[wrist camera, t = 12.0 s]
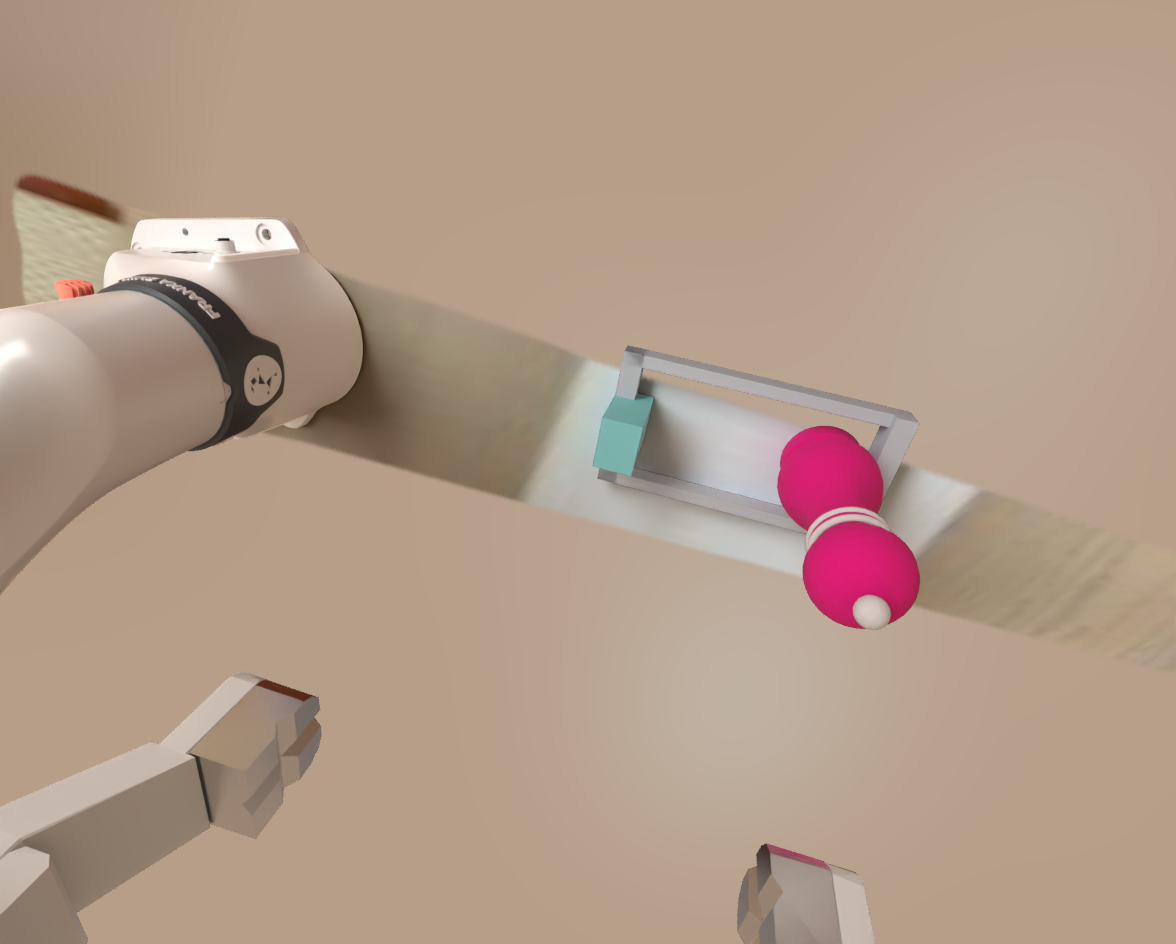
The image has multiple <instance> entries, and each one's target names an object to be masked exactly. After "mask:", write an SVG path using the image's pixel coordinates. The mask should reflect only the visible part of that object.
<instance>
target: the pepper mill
mask: <svg viewBox="0 0 1176 944" xmlns="http://www.w3.org/2000/svg"><path fill="white" fill-rule="evenodd" d="M780 468H781V470H780V472H779V476H778V486H777V488H778V493H779V497H780V500H781V503H782V505H783V507H784V509H785V511H786V512H787V514H788V515H789V516H790V517H791V518H792V519H793V520H794V521H795V522H796V523H797V524H798V525H799V526H800V527H802V528H803V529H805V530H806V531H808V532H807V535H806V539H805V547H806V552H807V553H806V556H805V559H804V563H803V581H804V584H805V588H806V590H807V593H808V595H809V597H810V599H811V600H812V602H813V603H814V604H815V606H816V607H817V608H818V609H819V610H820V611H821V612H822V613H823V614H824V615H826V616H827V617H829V618H830V619H832V620H833V621H835V622H837V623H840V624H842V625H844V626H848V627H852V628H860V629H871V630H877V629H881V628H883V627H885V626H886V625H887V624H890V623H892V622H894V621H896V620H897V619H899V618H900V617H902V616H903V615H904V614H905V613H906V612H907V611H908V610H909V609H910V608H911V607H912V605H913V603H914V602H915V600H916V598H917V594H918V591H919V585H920V574H919V570H918V566H917V562H916V560H915V557H914V555H913V553H912V551H911V550H910V549H909V547H908V546H907V545H906V543H905V542H903V541H902V540H901V539H900V538H899V537H897V536H896V535H895V534H894V533H892V532H891V529H890V527H889V526H888V524H887V523H886V521H885V520H884V519H883V518H882V517H880V516H879V515H878V514H877V513H878V511H879V509H880V506H881V503H882V499H883V492H884V487H883V479H882V475H881V471H880V468H879V466H878V464H877V462H876V460H875V459H874V457H873V456H872V455H871V454H870V453H869V452H868V451H867V450H866V449H864V448H863V447H862V446H860V445H859V443H858V442H857V440H856V439H855V438H854V437H853V436H852V435H851V434H849V433H848V432H846V431H844V430H842V429H839V428H836V427H832V426H817V427H812V428H809V429H806V430H804V431H802V432H800V433H798V434H797V435H796V436H794V437H793V438H792V439H791V440H790V441H789V442H788V443H787V445H786V446H785V448H784V450H783V452H782V455H781V461H780Z"/></svg>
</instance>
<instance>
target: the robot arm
mask: <svg viewBox="0 0 1176 944" xmlns="http://www.w3.org/2000/svg"><path fill="white" fill-rule="evenodd" d="M268 230H269V231H270V233H271V238H270V237H269V235H268ZM54 285H55V289H56V291H57V293H58V295H59V298H60V300H56V301H50V302H43V303H37V304H31V305H24V306H18V307H12V308H5V309H0V595H1V594H2V593H3V592H4V590H5V589H6V588H7V587H8V586H9V585H10V583H11V582H12V581H13V580H14V579H15V578H16V576H17V575H18V574H19V573H20V572H21V571H22V570H23V569H24V568H25V567H26V566H27V565H28V564H29V563H30V562H31V560H33V559H34V558H35V556H36V555H37V554H38V553H39V552H40V551H41V550H42V549H43V548H44V547H45V546H46V545H47V544H48V543H49V542H51V540H53V538H55V537H56V536H57V535H58V534H59V533H60V532H61V531H62V530H63V529H64V528H65V527H66V526H67V525H69V524H70V523H71V522H72V521H73V520H74V519H75V518H76V517H78V516H79V515H80V514H81V513H82V512H84V511H85V510H86V509H87V508H88V507H90V506H91V505H92V504H94V503H95V502H96V501H98V500H99V499H101V498H102V497H103V496H105V495H106V494H108V493H109V492H111V491H112V490H114V489H116V488H117V487H119V486H121V485H123V484H125V483H126V482H128V481H130V480H132V479H134V478H136V477H137V476H139V475H141V474H143V473H145V472H147V471H149V470H151V469H153V468H155V467H157V466H158V465H160V464H162V463H164V462H166V461H168V460H170V459H172V458H174V457H176V456H178V455H180V454H182V453H184V452H186V451H197V450H202V449H206V448H208V447H211V446H215V445H219V444H220V443H223V442H226V441H228V440H230V439H232V438H235V439H246V438H249V437H251V436H254V435H257V434H260V433H262V432H265V431H268V430H270V429H273V428H275V427H278V426H281V425H285V426H287V427H289V428H294V429H295V428H299V427H301V426H304V425H306V424H307V423H308V422H309V421H310V420H311V419H312V417H313V416H314V414H315V413H316V411H317V410H318V409H320V408H322V407H324V406H326V405H329V404H331V403H333V402H335V401H337V400H339V399H340V398H342V397H343V396H344V395H345V394H346V393H347V392H348V391H349V390H350V389H351V388H352V386H353V385H354V383H355V381H356V379H357V377H358V375H359V372H360V368H361V364H362V357H363V342H362V335H361V330H360V325H359V322H358V319H357V316H356V313H355V311H354V308H353V306H352V304H351V302H350V300H349V299H348V297H347V295H346V293H345V292H344V290H343V289H342V287H341V286H340V285H339V283H338V282H337V281H336V280H335V279H334V277H333V276H332V275H331V274H330V273H329V272H328V271H327V270H326V269H325V268H324V267H323V266H322V265H321V264H320V263H318V261H316V259H315V258H314V257H313V256H312V255H311V253H310V252H309V250H308V248H307V246H306V244H305V242H304V240H303V239H302V237H301V235H300V233H299V232H298V230H297V229H296V227H295V226H294V225H293V224H292V223H291V222H290V221H289V220H287V219H285V218H279V217H278V218H276V217H275V218H155V219H147V220H142V221H140V222H138V224H137V226H136V229H135V231H134V234H133V238H132V244H131V250H123V251H117V252H115V253H113V254H112V255H111V257H110V258H109V260H108V262H107V265H106V267H105V273H104V289H102V290H100V291H99V292H98V293H97V294H94V289H93V285H92V284H91V283H90V282H86V281H81V280H62V281H57V282H56V283H54ZM319 710H320V705H319V698H318V697H316V696H313V695H310V694H307V693H304V692H301V691H298V690H295V689H292V688H290V687H287V686H284V685H281V684H278V683H275V682H272V681H269V680H267V679H264V678H261V677H258V676H255V675H251V674H249V673H246V672H242V671H240V672H238V673H236V674H235V675H233V676H231V677H229V678H228V679H227V680H226V681H225V682H224V683H223V684H222V685H221V686H220V687H219V688H218V689H217V690H215V692H213V693H212V694H211V695H210V696H209V697H208V698H207V699H206V700H205V701H204V702H203V703H202V704H201V705H200V706H199V707H198V708H197V709H196V710H195V711H194V712H193V713H191V715H189V716H188V717H187V718H186V719H185V720H184V721H183V722H182V723H181V724H180V725H179V726H178V727H177V728H176V729H175V730H174V731H173V732H172V733H171V734H170V735H169V736H167V738H165V739H164V740H163V741H162V742H161V743H160V744H158V743H155V742H150V743H148V744H146V745H143V746H141V747H138V748H136V749H134V750H131V751H129V752H127V753H124V754H122V755H120V756H117V757H115V758H113V759H111V760H108V761H106V762H104V763H101V764H99V765H97V766H94V767H92V768H89V769H87V770H85V771H83V772H80V773H78V774H75V775H73V776H71V777H69V778H66V779H64V780H61V781H59V782H57V783H54V784H52V785H50V786H47V787H45V788H43V789H40V790H38V791H36V792H33V793H31V794H29V795H26V796H24V797H22V798H20V799H17V800H15V801H12V802H10V803H8V804H6V805H3V806H1V807H0V944H87V942H88V937H87V935H86V933H85V931H84V929H83V927H82V925H81V922H80V920H79V918H78V916H77V912H79V911H80V910H82V909H83V908H85V907H87V906H88V905H90V904H91V903H93V902H94V901H96V900H97V899H99V898H101V897H102V896H103V895H105V894H107V893H108V892H110V891H112V890H113V889H115V888H116V887H118V886H119V885H121V884H123V883H124V882H126V881H127V880H129V879H130V878H132V877H134V876H135V875H137V874H138V873H140V872H141V871H143V870H145V869H146V868H148V867H149V866H151V865H152V864H154V863H155V862H157V861H159V860H160V859H162V858H163V857H165V856H166V855H168V854H170V853H171V852H172V851H174V850H176V849H177V848H179V847H181V846H182V845H184V844H185V843H187V842H188V841H190V840H192V839H193V838H194V837H196V836H198V835H199V834H201V833H202V832H204V831H205V830H207V829H209V828H210V824H212V825H215V826H218V827H221V828H224V829H227V830H230V831H233V832H236V833H239V834H242V835H246V836H248V837H251V838H254V839H256V838H257V837H258V835H259V834H260V833H261V831H262V830H263V829H264V827H265V826H266V825H267V823H268V822H269V821H270V819H271V818H272V817H273V815H274V814H275V812H276V811H277V810H278V809H279V807H280V806H281V805H282V803H283V790H284V787H286V786H288V785H290V784H292V783H294V782H296V781H298V780H300V779H301V777H302V776H303V774H304V773H305V771H306V770H307V769H308V767H309V766H310V765H311V763H312V761H313V758H314V756H315V754H316V752H317V750H318V748H319V744H320V739H321V726H320V724H319V723H318V722H317V720H316V719H315V717H314V716H315V715H316V714H317V713H318V712H319ZM756 856H757V866H756V867H753V868H750V869H748V871H747V873H746V875H745V877H744V879H743V881H742V886H741V890H740V894H739V901H738V914H737V915H738V916H737V917H738V920H737V924H738V925H737V930H738V933H739V935H740V937H741V939H742V941H743V943H744V944H876V943H875V938H874V933H873V928H872V923H871V918H870V913H869V908H868V903H867V898H866V894H865V888H864V883H863V881H862V879H861V878H860V876H859V875H858V874H857V873H855V872H853V871H850V870H847V869H844V868H840V867H837V866H834V865H831V864H827V863H825V862H824V861H821V860H818V859H815V858H812V857H808V856H805V855H802V854H798V853H795V852H792V851H789V850H786V849H782V848H779V847H776V846H773V845H769V844H764V845H762V846H761V848H760V849H759V851H758V852H757V854H756Z"/></svg>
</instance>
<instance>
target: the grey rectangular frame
mask: <svg viewBox="0 0 1176 944" xmlns="http://www.w3.org/2000/svg"><path fill="white" fill-rule="evenodd" d="M643 368H644V369H649V370H653V371H657V372H662V373H665V374H669V375H674V376H678V377H682V378H686V379H691V380H695V381H698V382H703V383H707V384H711V385H715V386H719V387H724V388H728V389H732V390H736V391H740V392H744V393H748V394H752V395H757V396H761V397H765V398H769V399H773V400H777V401H782V402H786V403H790V404H794V405H798V406H802V407H806V408H811V409H815V410H819V411H823V412H827V413H831V414H836V415H840V416H844V417H848V418H852V419H856V420H861V421H865V422H869V423H873V424H877V425H880V427H879V430H878V432H877V434H876V436H875V439H874V441H873V443H872V445H871V447H870V450H869V453H870V454H871V455H872V456H873V457H874V459H875V460H876V462H877V464H878V466H879V468H880V471H881V475H882V479H883V487H884V492H883V499H884V497H885V495H886V493H887V490H888V488H889V486H890V484H891V482H892V480H893V478H894V476H895V474H896V472H897V470H898V468H899V466H900V464H901V462H902V460H903V458H904V456H905V454H906V451H907V449H908V447H909V445H910V443H911V441H912V439H913V437H914V435H915V433H916V431H917V429H918V427H919V425H920V423H919V422H918V421H917V419H916V418H915V417H914V416H913V415H912V413H911V412H908V411H904V410H899V409H895V408H891V407H887V406H883V405H878V404H874V403H870V402H866V401H861V400H857V399H853V398H848V397H844V396H840V395H836V394H832V393H828V392H823V391H819V390H815V389H810V388H807V387H802V386H797V385H794V384H789V383H785V382H781V381H777V380H772V379H768V378H764V377H760V376H756V375H752V374H747V373H743V372H739V371H734V370H730V369H726V368H722V367H718V366H714V365H709V364H705V363H701V362H696V361H692V360H688V359H684V358H680V357H675V356H671V355H667V354H662V353H659V352H654V351H650V350H645V349H642V348H637V347H633V346H627V348H626V349H625V351H624V355H623V360H622V365H621V370H620V374H619V379H618V384H617V389H616V393H615V396H614V398H613V400H612V402H611V403H610V405H609V407H608V409H607V410H606V412H605V414H604V416H603V417H602V422H601V427H600V432H599V437H598V442H597V447H596V451H595V456H594V461H593V466H594V467H598V468H600V469H599V474H598V479H601V480H605V481H609V482H613V483H617V484H620V485H624V486H628V487H632V488H635V489H639V490H643V491H647V492H650V493H654V494H658V495H662V496H666V497H669V498H673V499H677V500H681V501H684V502H688V503H692V504H696V505H699V506H703V507H707V508H711V509H715V510H718V511H722V512H726V513H730V514H733V515H737V516H741V517H745V518H748V519H752V520H756V521H760V522H763V523H767V524H771V525H775V526H779V527H782V528H786V529H790V530H794V531H797V532H801V533H805V534H807V532H808V531H806V530H805V529H803V528H802V527H800V526H799V525H798V524H797V523H796V522H795V521H794V520H793V519H792V518H791V517H790V516H789V515H788V514H787V512H786V511H785V509H784V507H783V506H779V505H775V504H771V503H767V502H763V501H760V500H756V499H752V498H748V497H744V496H740V495H737V494H733V493H729V492H725V491H721V490H717V489H714V488H710V487H706V486H702V485H698V484H695V483H691V482H687V481H683V480H679V479H675V478H672V477H668V476H664V475H660V474H656V473H652V472H649V471H645V470H641V469H637V468H634V466H635V464H636V461H637V458H638V455H639V452H640V449H641V446H642V444H643V441H644V437H645V433H646V428H647V424H648V420H649V416H650V412H651V408H652V404H653V400H654V397H651V396H647V395H643V394H639V393H638V389H639V385H640V381H641V376H642V372H643ZM883 499H882V501H883Z"/></svg>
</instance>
